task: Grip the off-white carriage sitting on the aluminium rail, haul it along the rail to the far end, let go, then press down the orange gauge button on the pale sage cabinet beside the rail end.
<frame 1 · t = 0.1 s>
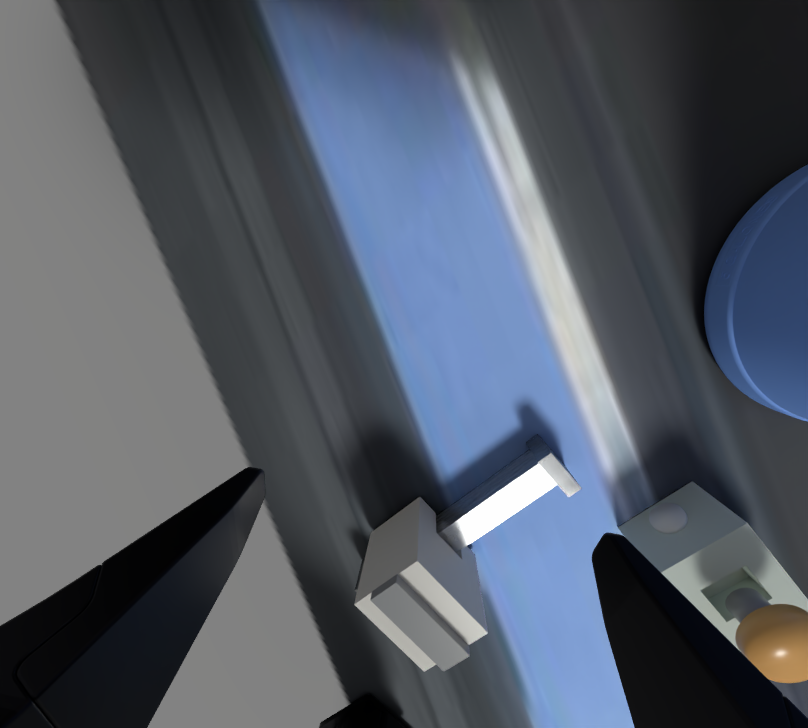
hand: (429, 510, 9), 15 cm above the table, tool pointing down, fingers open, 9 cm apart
carriage: (421, 580, 24), point 4 cm above the table, slide at 0.0 cm
rail: (457, 516, 27), on the table
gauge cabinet: (685, 542, 26), on the table
gauge button: (766, 625, 20), point 6 cm above the table, slide at 0.0 cm
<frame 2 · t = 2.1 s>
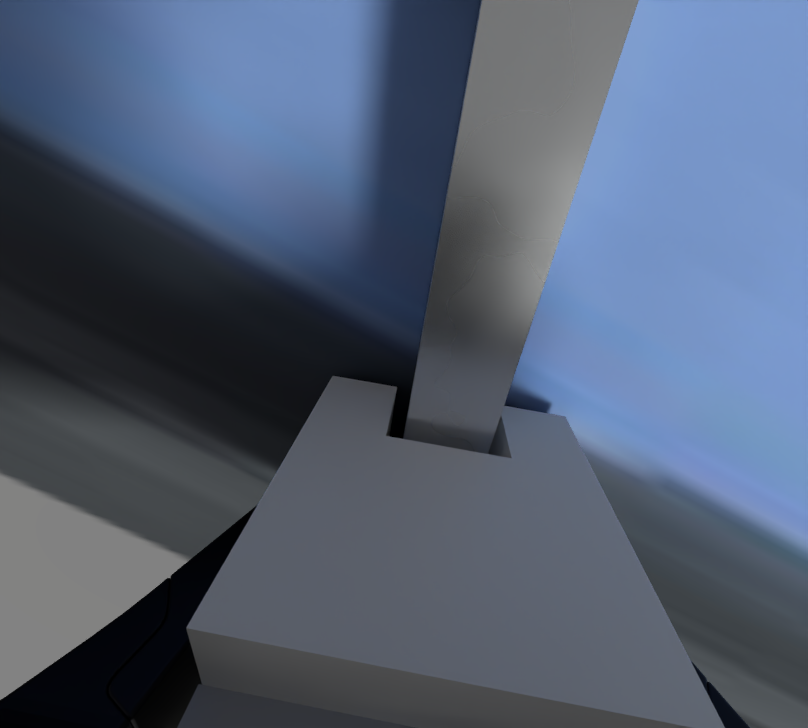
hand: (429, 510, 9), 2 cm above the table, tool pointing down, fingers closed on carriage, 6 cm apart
carriage: (426, 573, 8), point 4 cm above the table, slide at 0.0 cm, touching gripper
rail: (455, 358, 9), on the table
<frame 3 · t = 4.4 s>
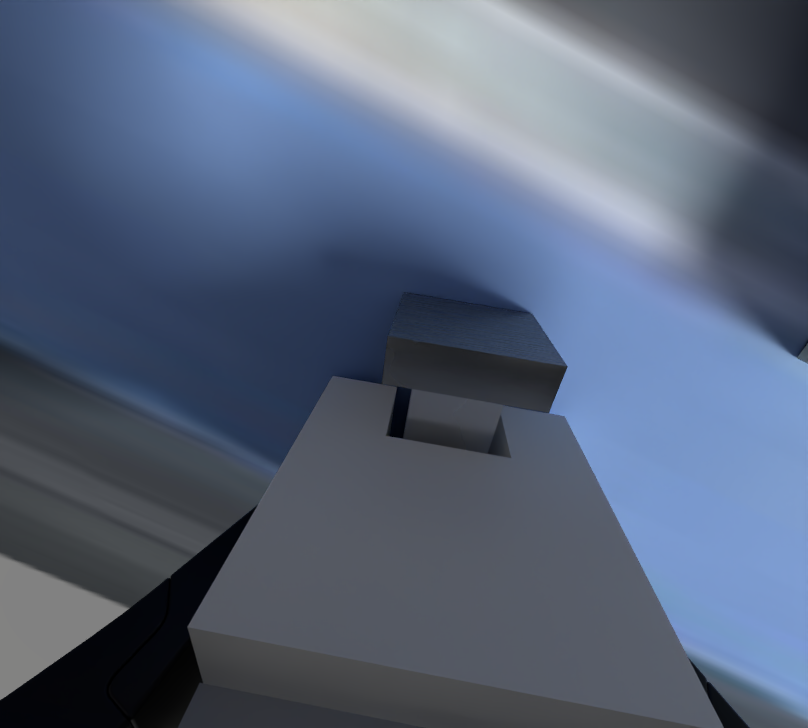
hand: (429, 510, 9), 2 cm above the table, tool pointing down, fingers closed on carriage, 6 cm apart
carriage: (426, 572, 8), point 4 cm above the table, slide at 6.9 cm, touching gripper
rail: (415, 528, 13), on the table
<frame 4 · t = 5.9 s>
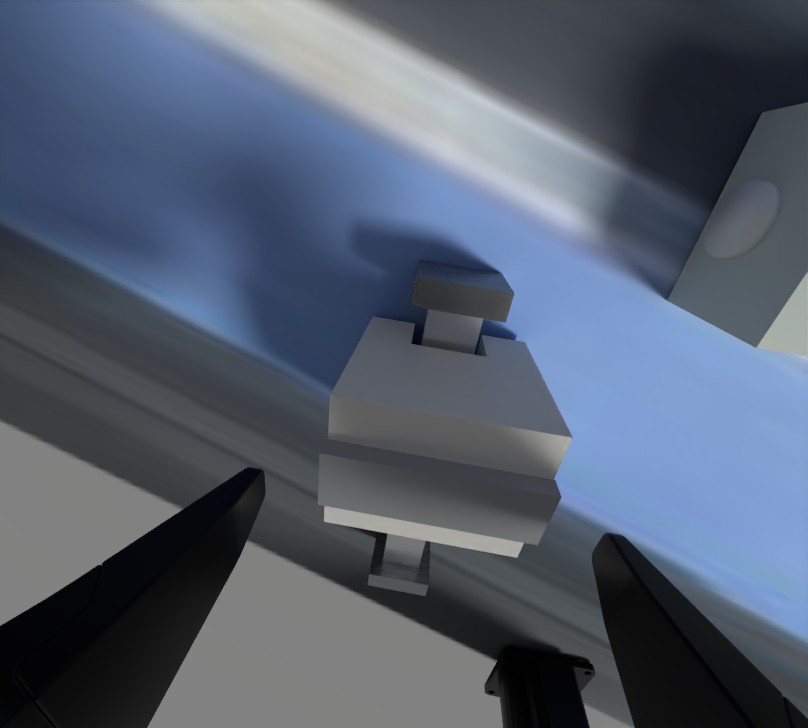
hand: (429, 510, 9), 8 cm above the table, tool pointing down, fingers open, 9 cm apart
carriage: (435, 426, 13), point 4 cm above the table, slide at 7.0 cm
rail: (424, 436, 18), on the table
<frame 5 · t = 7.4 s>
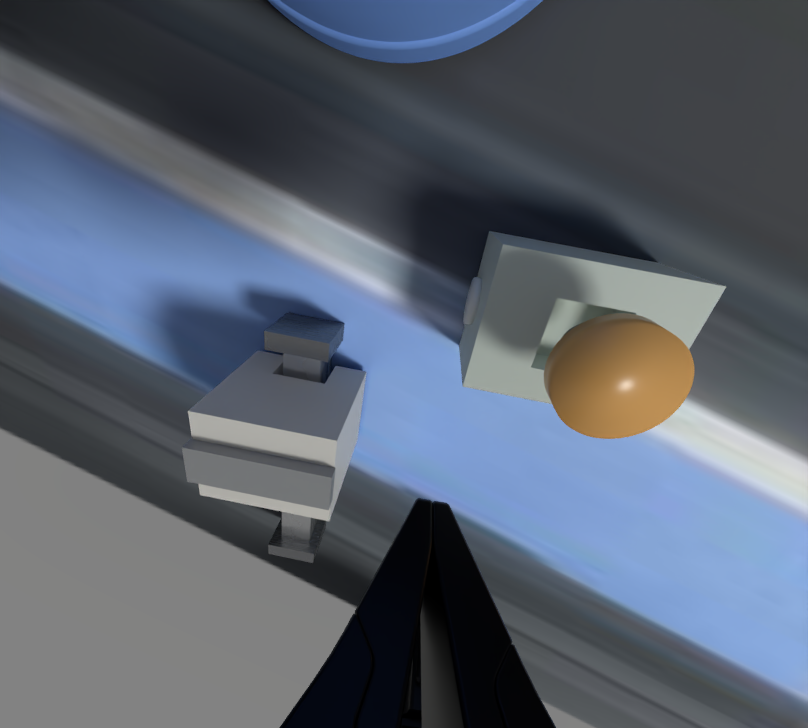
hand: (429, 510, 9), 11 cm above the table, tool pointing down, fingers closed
carriage: (288, 431, 18), point 4 cm above the table, slide at 7.0 cm
rail: (309, 438, 23), on the table
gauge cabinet: (551, 307, 18), on the table
gauge button: (600, 364, 12), point 6 cm above the table, slide at 0.0 cm
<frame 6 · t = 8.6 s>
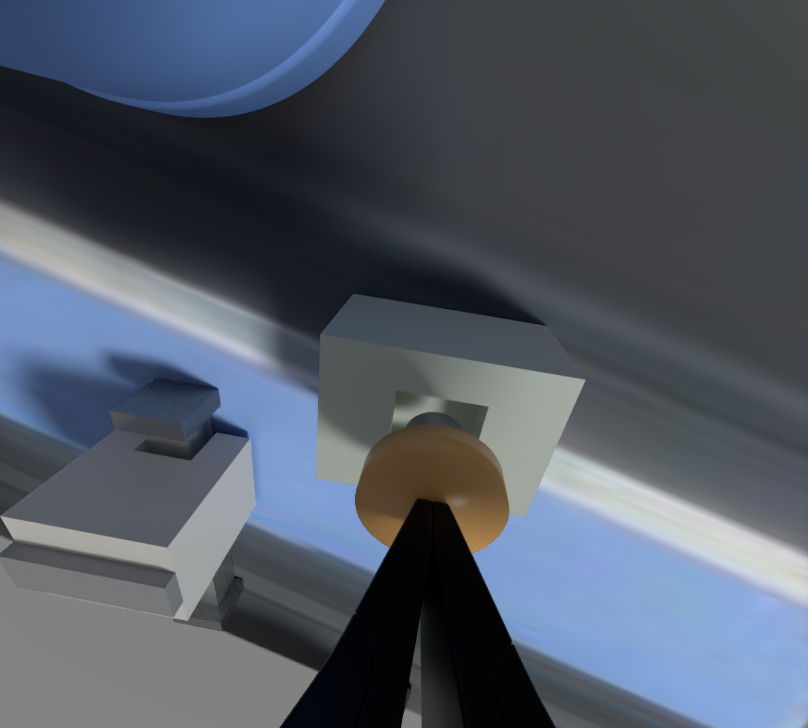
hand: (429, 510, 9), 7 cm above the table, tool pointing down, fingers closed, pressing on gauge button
carriage: (152, 514, 17), point 4 cm above the table, slide at 7.0 cm
rail: (207, 502, 21), on the table
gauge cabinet: (436, 372, 16), on the table
gauge button: (432, 468, 11), point 6 cm above the table, slide at 0.4 cm, touching gripper
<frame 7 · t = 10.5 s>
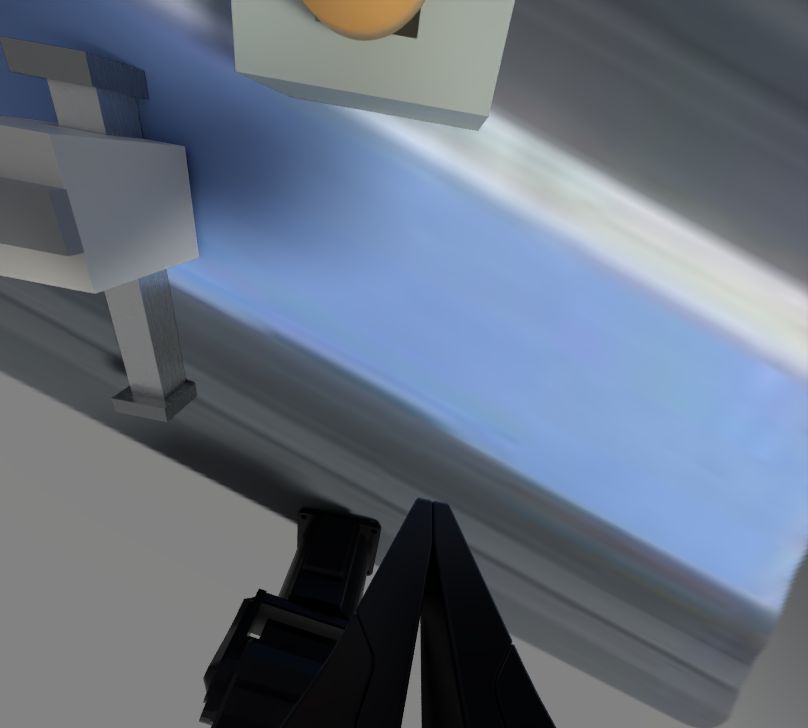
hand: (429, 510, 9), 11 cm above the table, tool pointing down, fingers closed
carriage: (62, 198, 14), point 4 cm above the table, slide at 7.0 cm
rail: (147, 263, 19), on the table
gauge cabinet: (394, 17, 13), on the table
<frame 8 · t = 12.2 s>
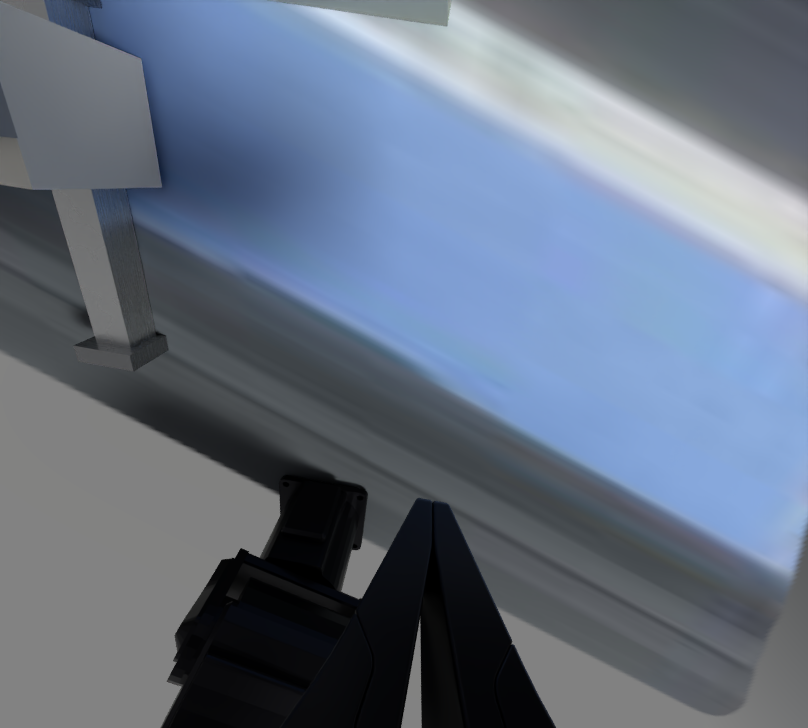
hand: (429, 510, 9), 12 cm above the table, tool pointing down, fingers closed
carriage: (5, 102, 13), point 4 cm above the table, slide at 7.0 cm
rail: (110, 198, 18), on the table
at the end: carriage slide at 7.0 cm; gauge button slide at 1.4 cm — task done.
